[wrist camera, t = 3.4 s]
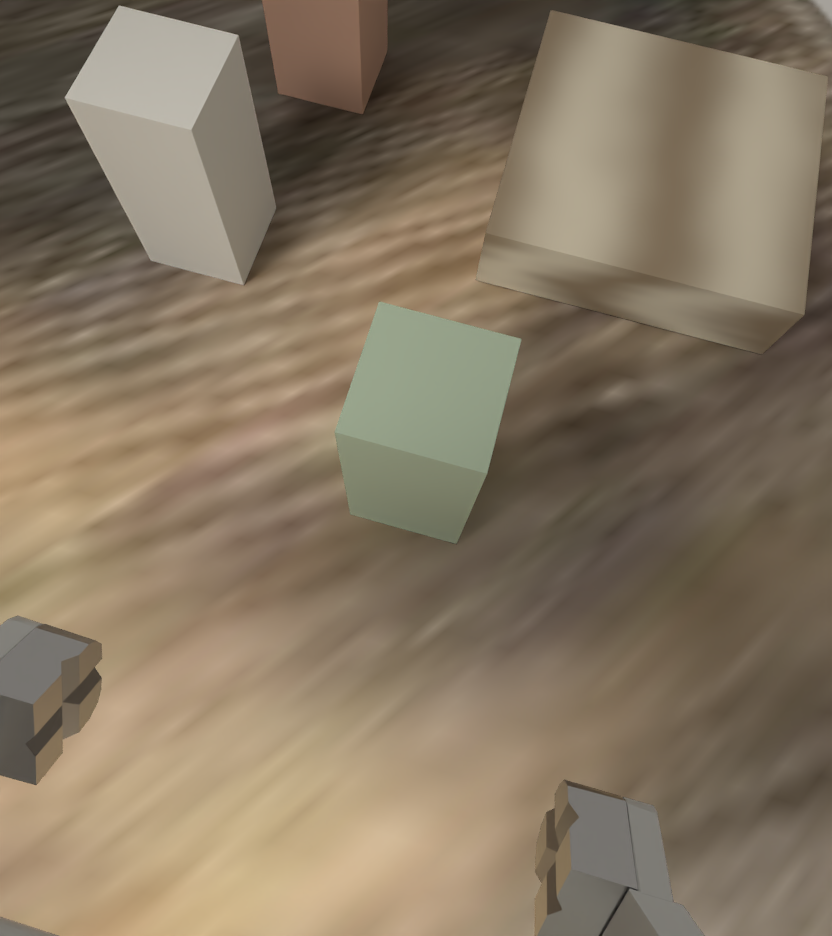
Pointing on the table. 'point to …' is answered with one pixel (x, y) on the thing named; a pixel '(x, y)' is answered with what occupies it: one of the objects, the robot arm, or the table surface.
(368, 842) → the table surface
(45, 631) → the robot arm
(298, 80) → the terracotta pillar
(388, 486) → the sage pillar
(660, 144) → the birch plinth
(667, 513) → the table surface
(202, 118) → the off-white pillar
